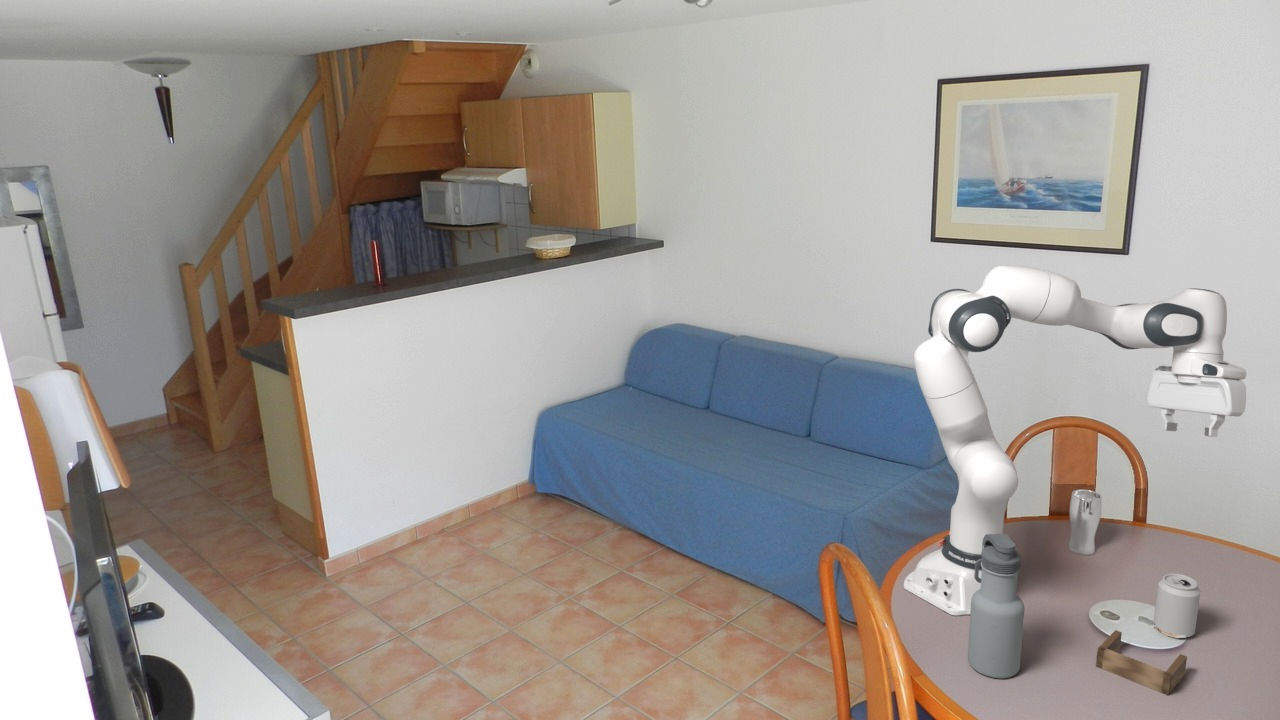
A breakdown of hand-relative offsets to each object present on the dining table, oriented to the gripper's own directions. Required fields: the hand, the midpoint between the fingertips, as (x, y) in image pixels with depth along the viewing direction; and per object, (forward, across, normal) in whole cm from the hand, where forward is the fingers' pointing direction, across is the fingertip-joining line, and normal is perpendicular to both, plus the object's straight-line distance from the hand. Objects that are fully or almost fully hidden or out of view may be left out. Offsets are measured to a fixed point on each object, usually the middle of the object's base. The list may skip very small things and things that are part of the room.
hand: (1190, 433), depth 178 cm
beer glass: (+34, -36, +10) cm, 50 cm away
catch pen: (+47, +6, -14) cm, 49 cm away
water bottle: (+50, -4, -40) cm, 64 cm away
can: (+42, -1, +2) cm, 42 cm away
